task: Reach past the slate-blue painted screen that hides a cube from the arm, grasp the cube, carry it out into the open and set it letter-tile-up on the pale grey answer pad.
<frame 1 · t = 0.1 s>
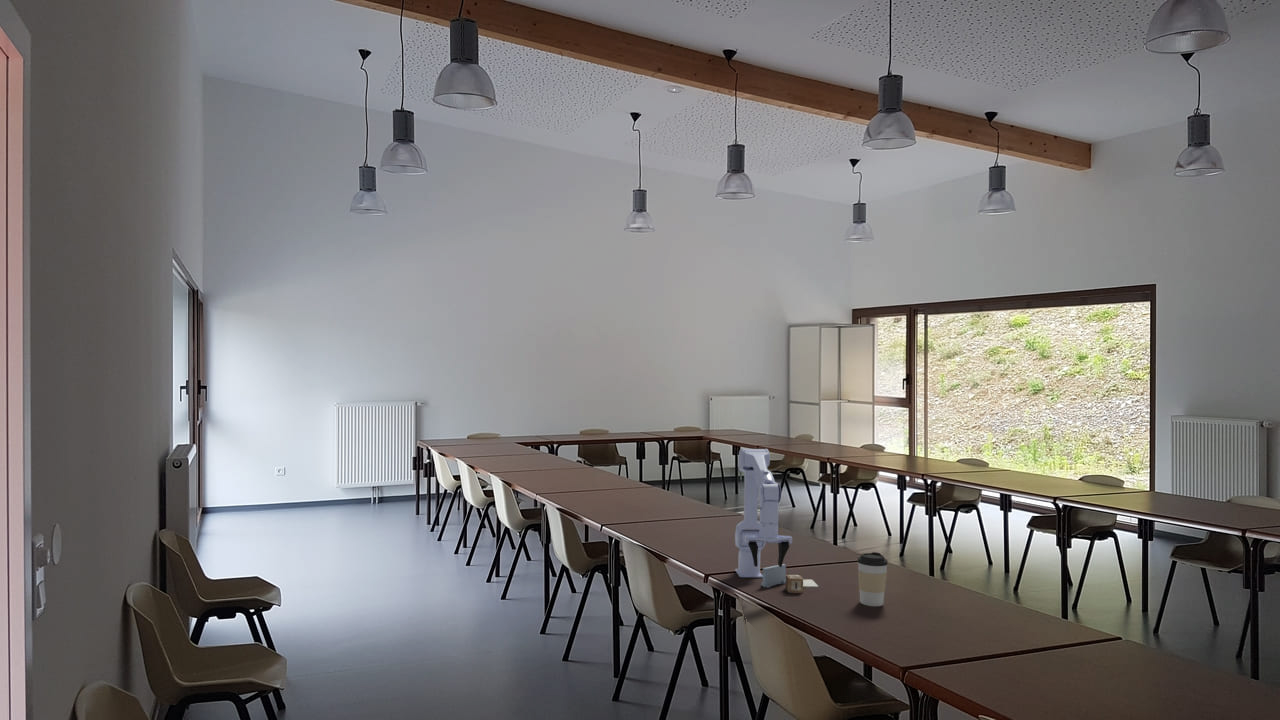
hand: (767, 565, 260), 10 cm above the table, fingers open, 7 cm apart
coffee cup: (871, 603, 258), on the table
letter cube: (794, 591, 270), on the table
answer pad: (803, 583, 278), on the table
screen: (774, 584, 276), on the table
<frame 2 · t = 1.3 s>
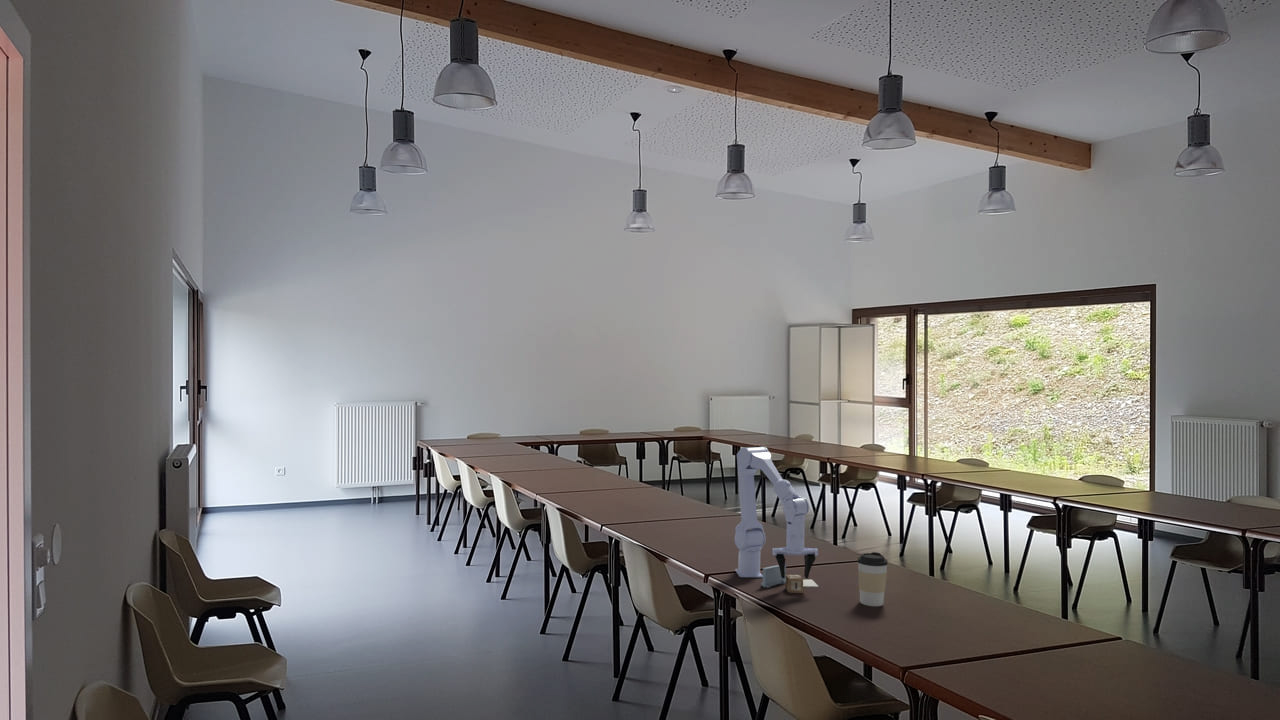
hand: (794, 577, 270), 4 cm above the table, fingers open, 7 cm apart
nothing on the table moved.
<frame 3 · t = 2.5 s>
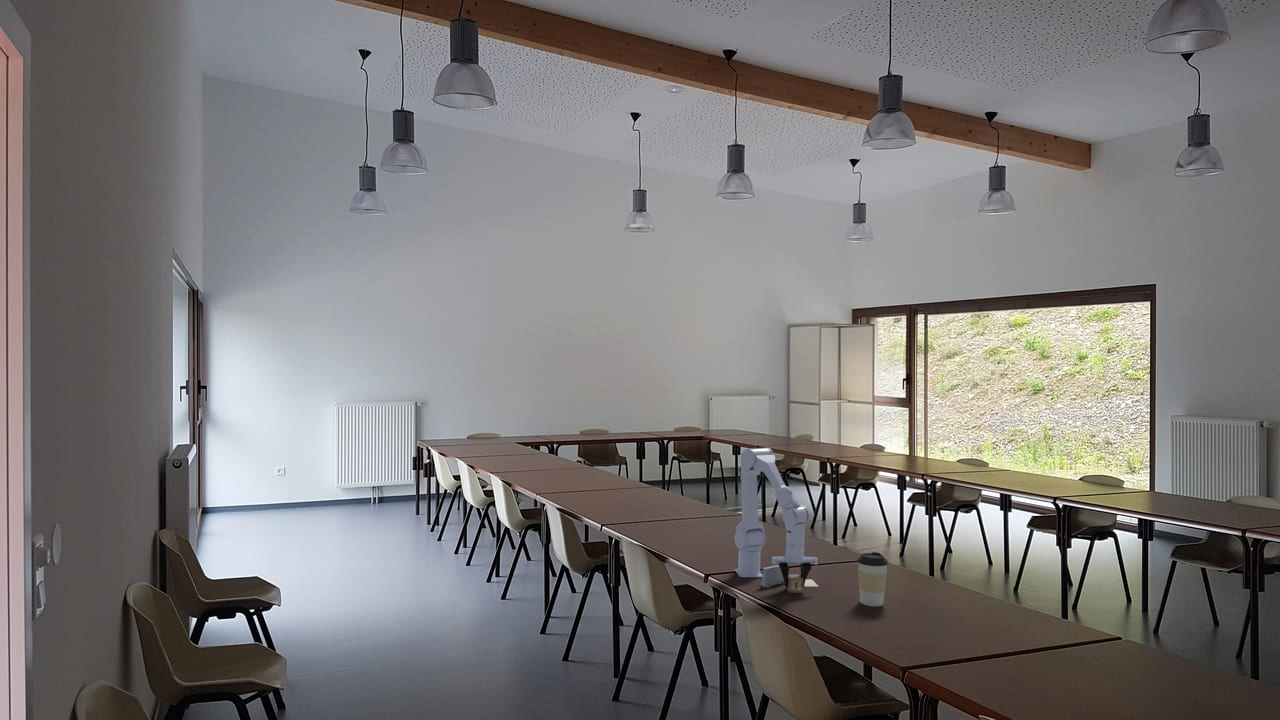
hand: (794, 586, 270), 1 cm above the table, fingers closed on letter cube, 5 cm apart
letter cube: (794, 590, 270), on the table, touching gripper
everything else where it was.
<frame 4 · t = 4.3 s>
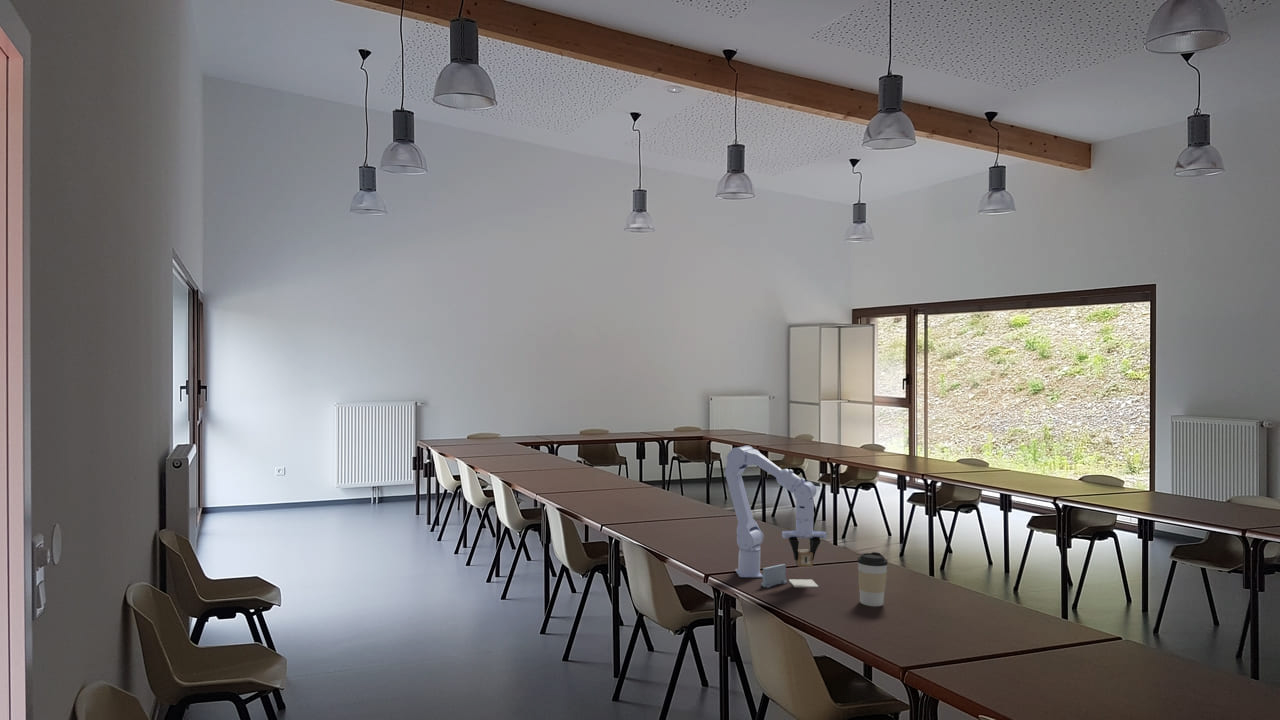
hand: (803, 559, 278), 8 cm above the table, fingers closed on letter cube, 5 cm apart
letter cube: (803, 565, 278), point 6 cm above the table, touching gripper
everything else where it was.
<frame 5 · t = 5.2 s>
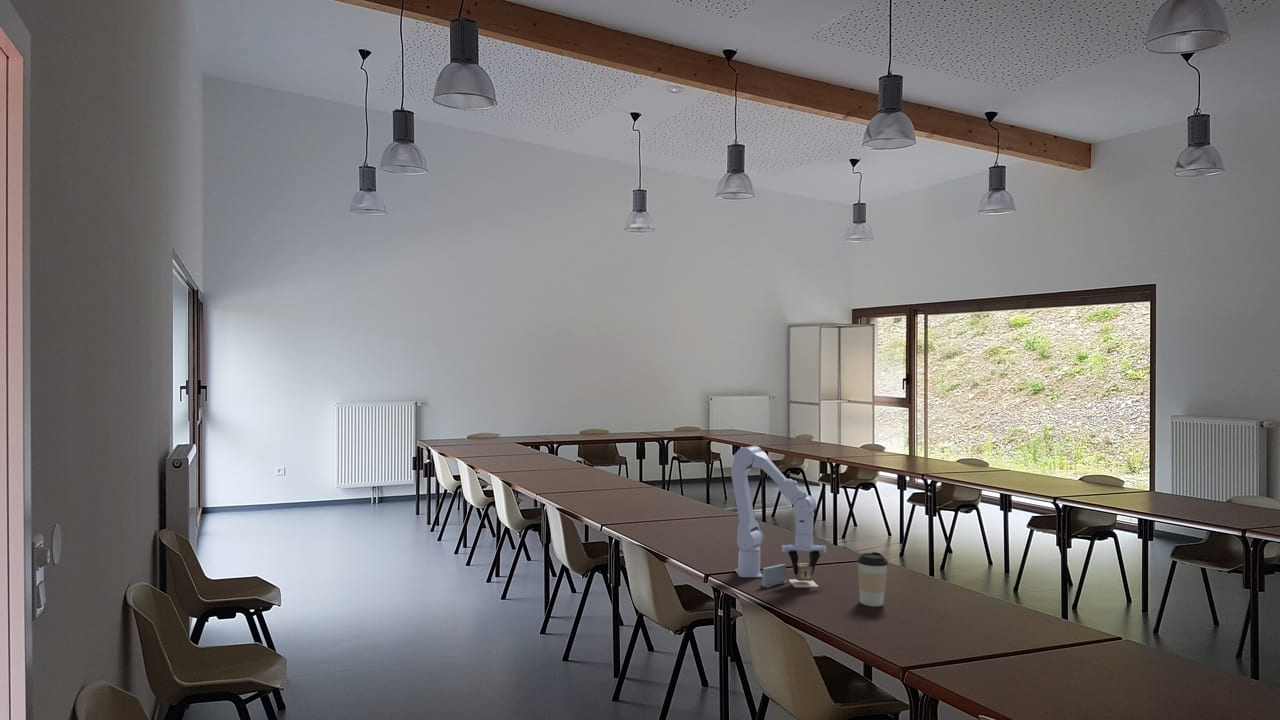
hand: (803, 573, 278), 3 cm above the table, fingers closed on letter cube, 5 cm apart
letter cube: (803, 579, 278), point 2 cm above the table, touching gripper
everything else where it was.
when the fingers open (3 cm above the table, at t = 5.9 s): letter cube drops 1 cm, resting on answer pad.
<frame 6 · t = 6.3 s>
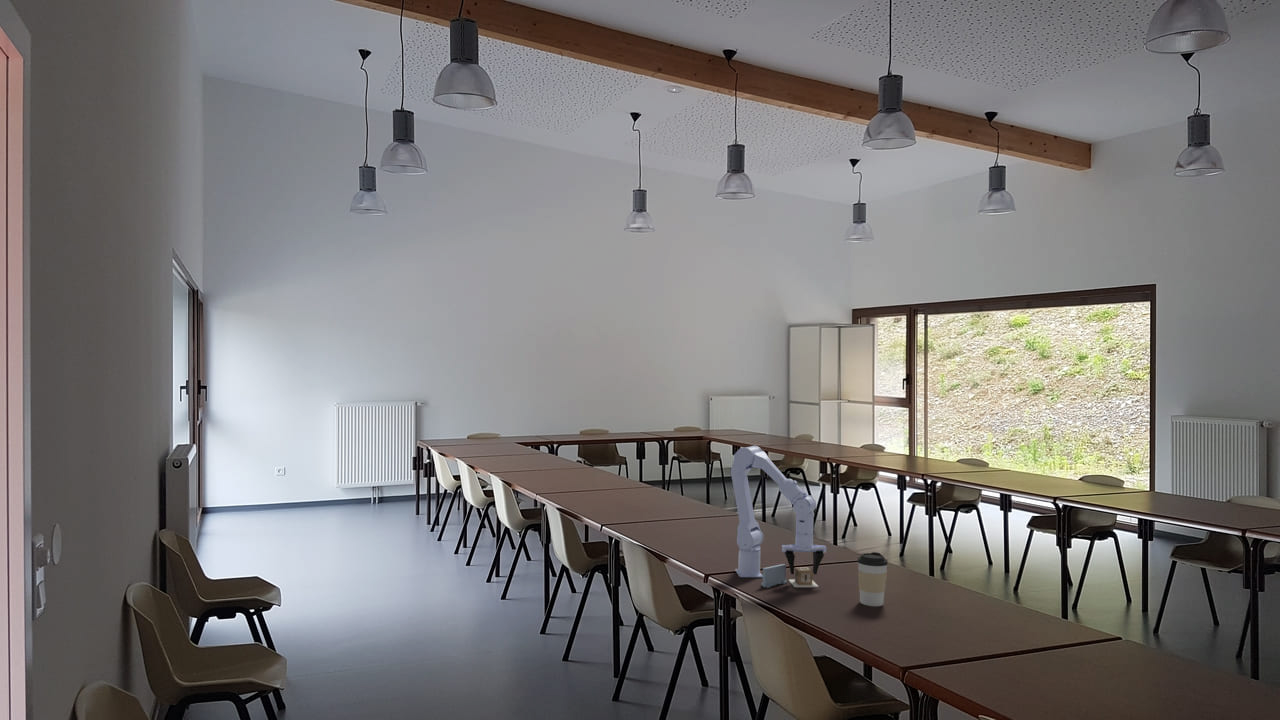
hand: (803, 573, 278), 3 cm above the table, fingers open, 7 cm apart
letter cube: (803, 582, 278), resting on answer pad
everything else where it was.
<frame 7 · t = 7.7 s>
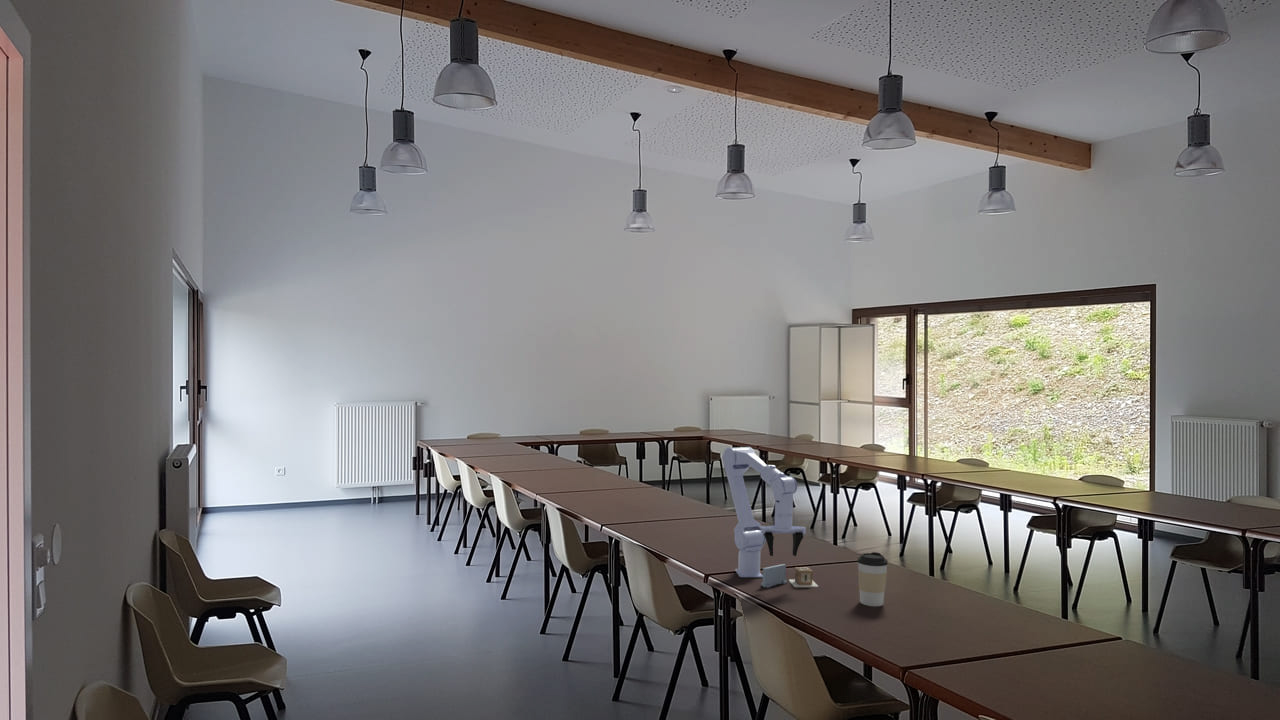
hand: (782, 555, 273), 10 cm above the table, fingers open, 7 cm apart
nothing on the table moved.
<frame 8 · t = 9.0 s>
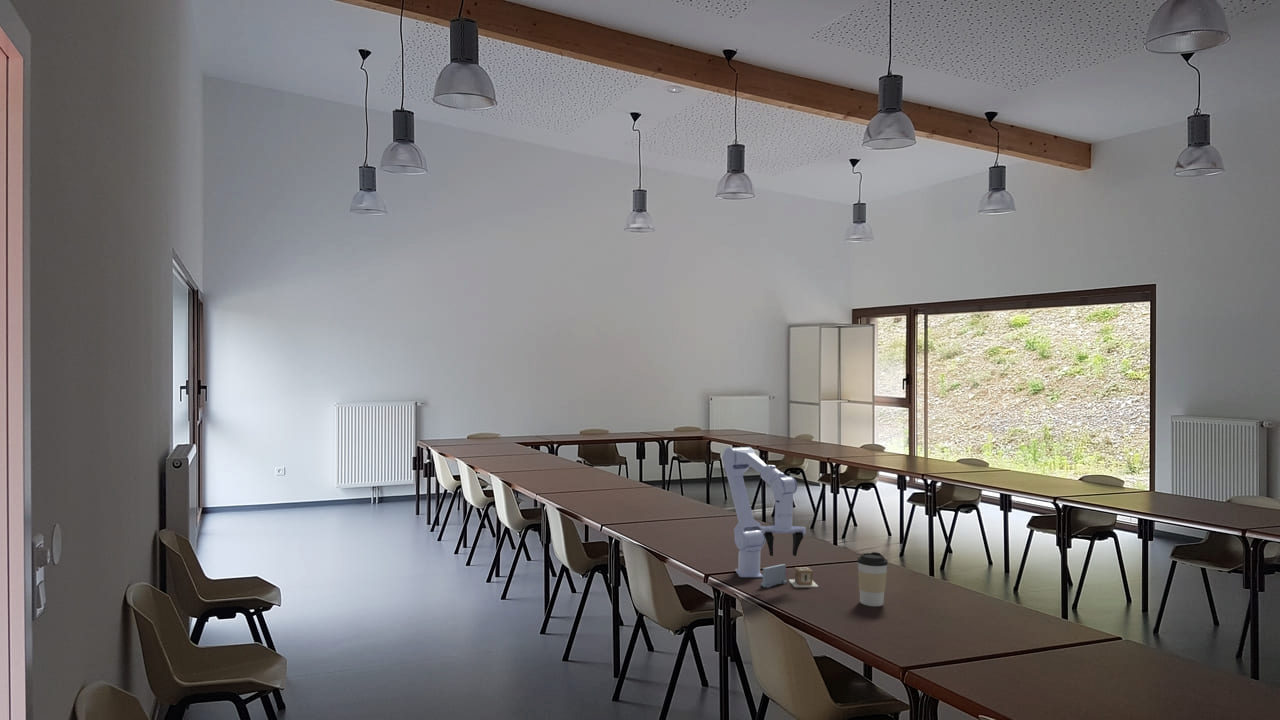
hand: (782, 555, 273), 10 cm above the table, fingers open, 7 cm apart
nothing on the table moved.
at the end: letter cube inside the target area on the answer pad (0.3 cm from its centre), point 0.4 cm above the answer pad's base; letter cube tilted 0°; the gripper is holding nothing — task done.
